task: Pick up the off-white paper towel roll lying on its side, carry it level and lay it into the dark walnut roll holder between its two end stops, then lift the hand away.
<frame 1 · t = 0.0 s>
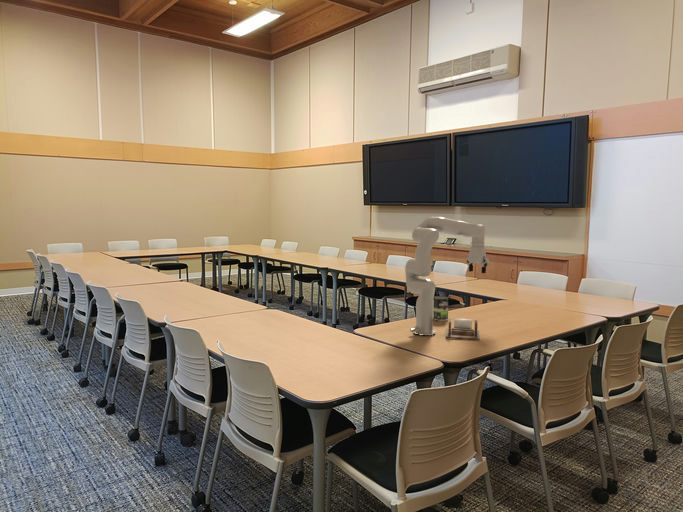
hand: (477, 272, 295), 31 cm above the table, tool pointing down, fingers open, 9 cm apart
paper towel roll: (462, 323, 283), point 3 cm above the table
coffee can: (440, 319, 305), on the table
roll holder: (462, 335, 267), on the table
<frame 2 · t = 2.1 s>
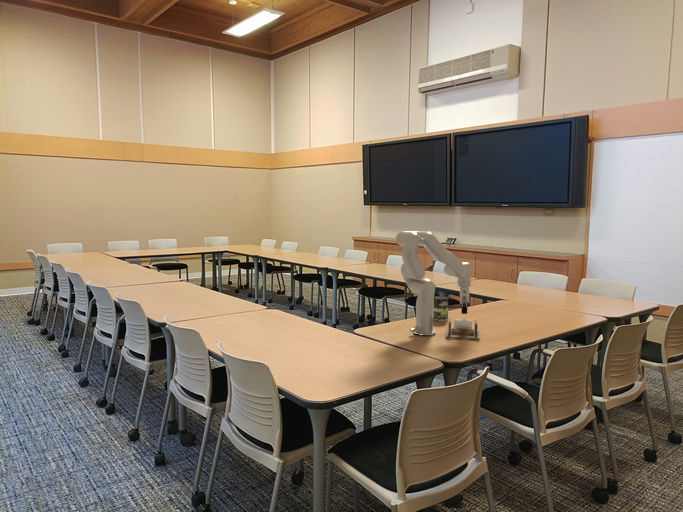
hand: (464, 311, 283), 10 cm above the table, tool pointing down, fingers open, 9 cm apart
paper towel roll: (462, 324, 282), point 3 cm above the table, tilted 27°
everything else where it was.
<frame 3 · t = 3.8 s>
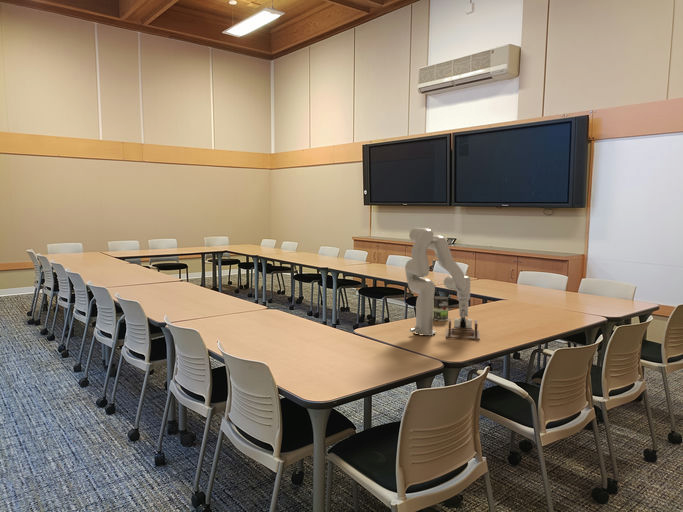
hand: (462, 326, 284), 1 cm above the table, tool pointing down, fingers closed on paper towel roll, 5 cm apart
paper towel roll: (463, 323, 284), point 3 cm above the table, touching gripper
everything else where it was.
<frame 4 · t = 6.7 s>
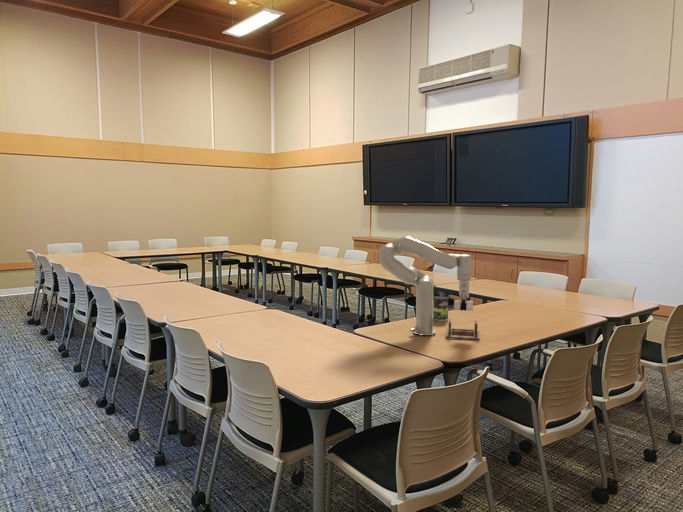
hand: (463, 308, 266), 15 cm above the table, tool pointing down, fingers closed on paper towel roll, 5 cm apart
paper towel roll: (463, 305, 266), point 17 cm above the table, touching gripper
everything else where it was.
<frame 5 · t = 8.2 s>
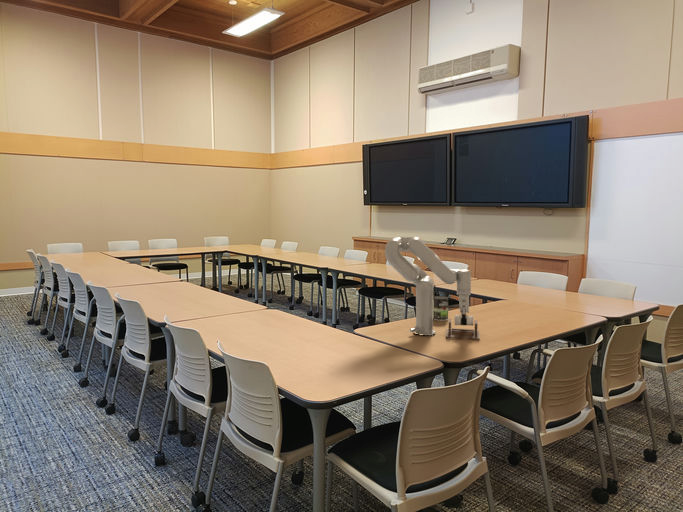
hand: (463, 323, 267), 7 cm above the table, tool pointing down, fingers closed on paper towel roll, 5 cm apart
paper towel roll: (463, 320, 266), point 9 cm above the table, touching gripper
everything else where it was.
when the fingers open (5 cm above the table, at t = 9.5 s): paper towel roll drops 1 cm, resting on roll holder.
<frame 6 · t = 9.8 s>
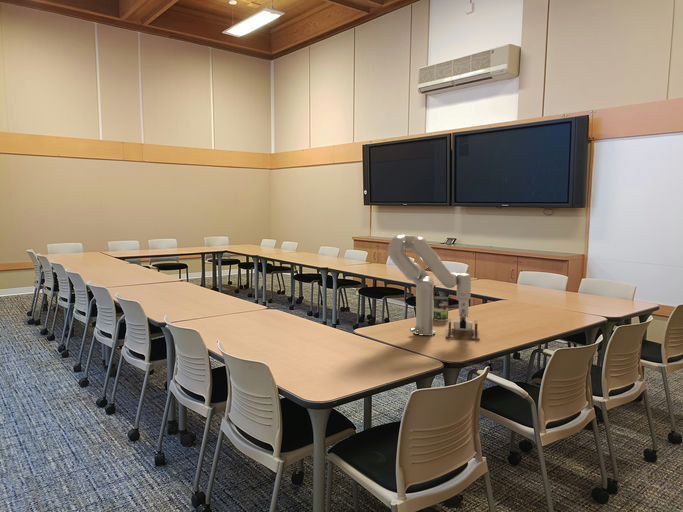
hand: (462, 326, 267), 5 cm above the table, tool pointing down, fingers open, 8 cm apart
paper towel roll: (463, 325, 267), point 6 cm above the table, touching roll holder
everything else where it was.
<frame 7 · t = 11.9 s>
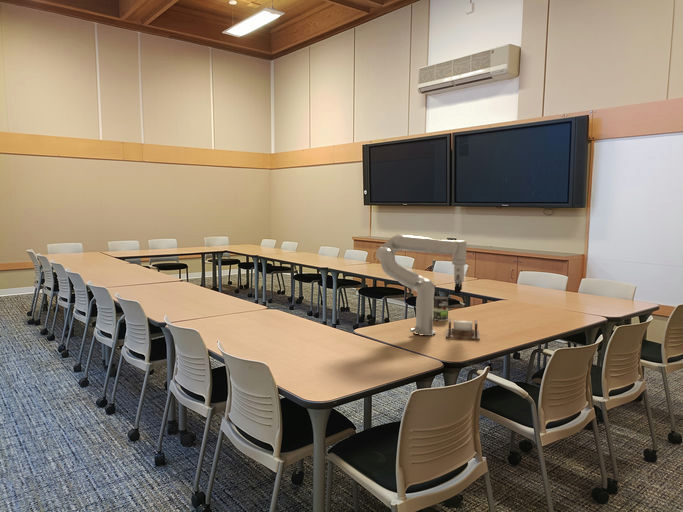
hand: (458, 291, 273), 24 cm above the table, tool pointing down, fingers open, 9 cm apart
nothing on the table moved.
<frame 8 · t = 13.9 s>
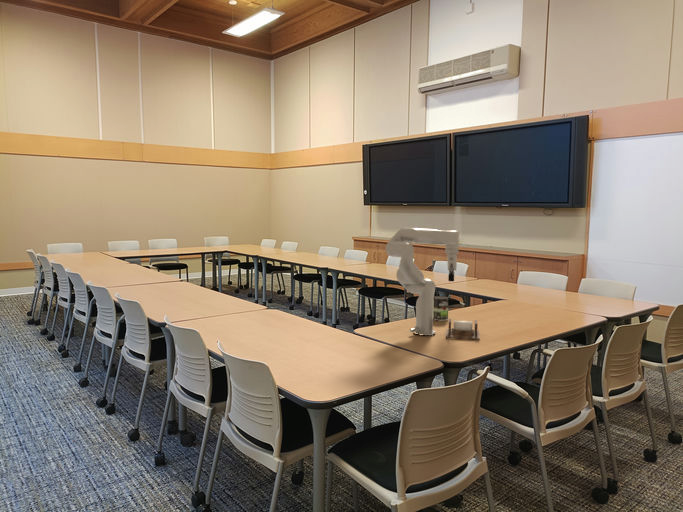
hand: (451, 279, 285), 28 cm above the table, tool pointing down, fingers open, 9 cm apart
nothing on the table moved.
at the end: paper towel roll 0.1 cm off-centre on the roll holder, point 5.6 cm above the roll holder's base; the gripper is holding nothing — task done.
